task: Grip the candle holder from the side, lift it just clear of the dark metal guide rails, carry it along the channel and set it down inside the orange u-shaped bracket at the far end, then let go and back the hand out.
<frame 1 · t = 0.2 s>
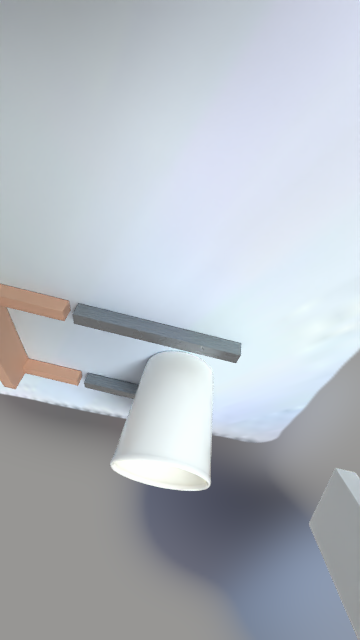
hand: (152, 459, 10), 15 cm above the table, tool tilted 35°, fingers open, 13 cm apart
orange u-shaped bracket: (60, 341, 35), on the table
guide rails: (116, 354, 35), on the table
candle holder: (180, 368, 35), on the table
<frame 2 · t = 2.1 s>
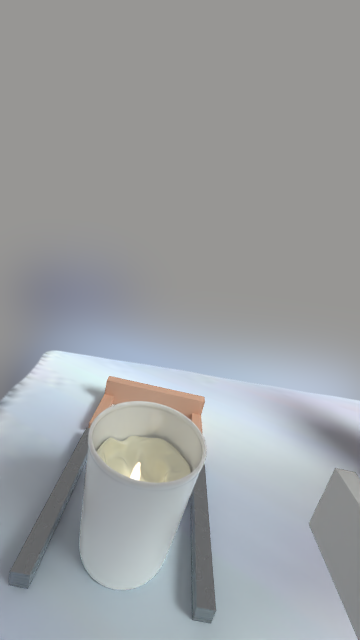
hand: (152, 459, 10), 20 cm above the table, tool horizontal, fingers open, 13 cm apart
orange u-shaped bracket: (146, 434, 41), on the table
guide rails: (138, 472, 35), on the table
candle holder: (124, 541, 27), on the table
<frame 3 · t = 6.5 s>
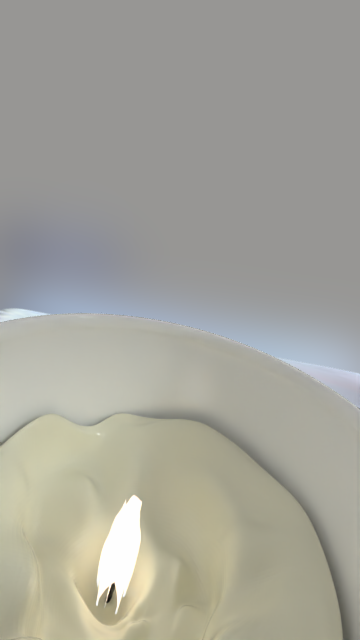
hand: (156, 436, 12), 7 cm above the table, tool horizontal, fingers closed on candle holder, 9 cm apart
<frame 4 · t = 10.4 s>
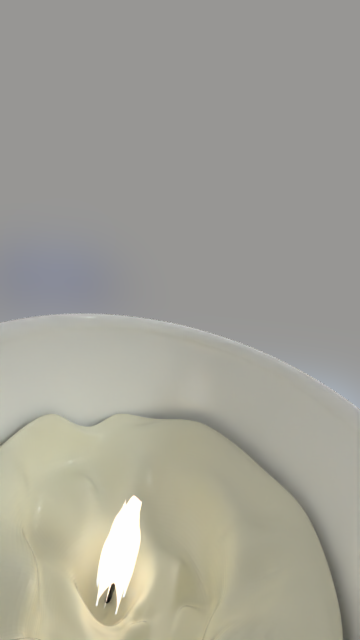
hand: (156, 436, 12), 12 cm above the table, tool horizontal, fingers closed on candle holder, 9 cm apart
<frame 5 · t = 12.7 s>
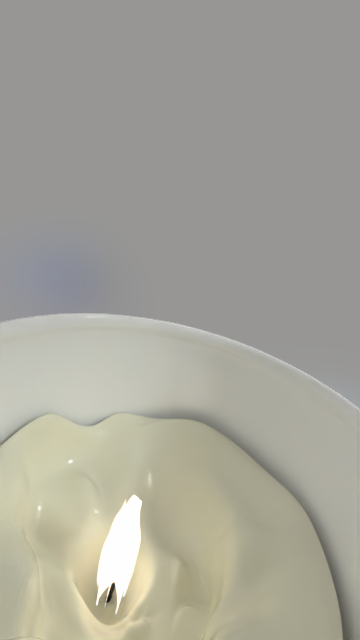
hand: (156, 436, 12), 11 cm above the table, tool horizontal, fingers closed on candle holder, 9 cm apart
when the fingers open (8 cm above the table, at t = 14.6 s): candle holder stays where it is, on the table.
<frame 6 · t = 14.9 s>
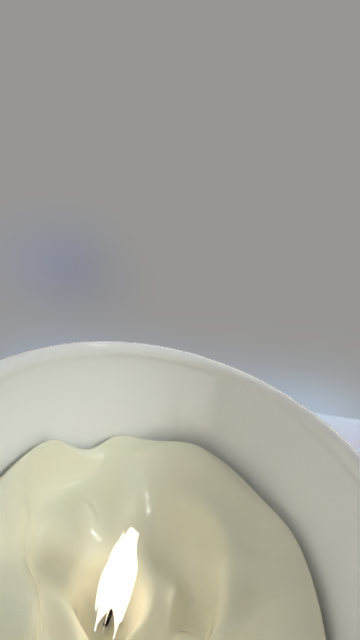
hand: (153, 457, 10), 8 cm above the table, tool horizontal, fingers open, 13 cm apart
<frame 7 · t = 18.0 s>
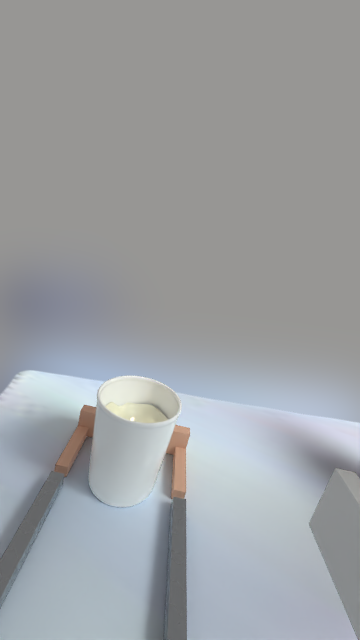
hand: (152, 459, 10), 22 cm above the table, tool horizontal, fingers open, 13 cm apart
orange u-shaped bracket: (122, 475, 37), on the table
guide rails: (108, 528, 30), on the table
candle holder: (121, 479, 36), on the table
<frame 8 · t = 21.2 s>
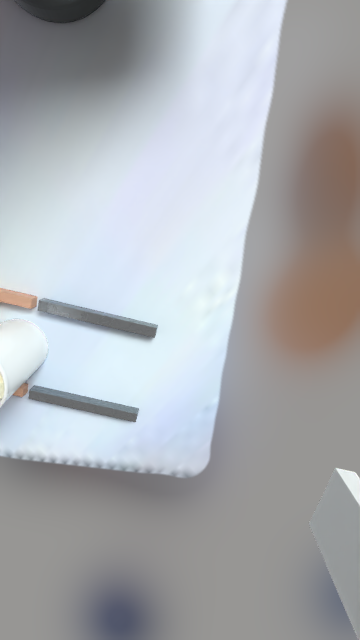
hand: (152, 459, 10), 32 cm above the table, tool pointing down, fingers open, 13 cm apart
orange u-shaped bracket: (19, 343, 44), on the table
guide rails: (64, 354, 44), on the table
candle holder: (23, 343, 44), on the table
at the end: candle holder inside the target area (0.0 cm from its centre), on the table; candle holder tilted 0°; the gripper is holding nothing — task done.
